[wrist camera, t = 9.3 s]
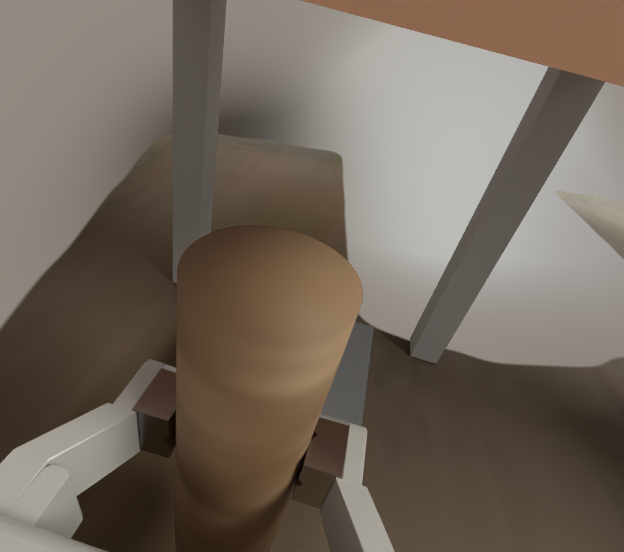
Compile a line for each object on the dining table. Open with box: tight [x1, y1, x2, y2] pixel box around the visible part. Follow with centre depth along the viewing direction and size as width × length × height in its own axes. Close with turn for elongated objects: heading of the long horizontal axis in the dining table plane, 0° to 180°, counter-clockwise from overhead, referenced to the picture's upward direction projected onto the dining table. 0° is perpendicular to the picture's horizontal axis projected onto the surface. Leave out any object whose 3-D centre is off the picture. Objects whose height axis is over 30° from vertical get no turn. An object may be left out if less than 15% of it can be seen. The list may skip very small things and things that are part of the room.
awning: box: [173, 0, 624, 426], centre depth 19 cm, size 15×21×22 cm
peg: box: [175, 226, 363, 552], centre depth 11 cm, size 4×4×12 cm
